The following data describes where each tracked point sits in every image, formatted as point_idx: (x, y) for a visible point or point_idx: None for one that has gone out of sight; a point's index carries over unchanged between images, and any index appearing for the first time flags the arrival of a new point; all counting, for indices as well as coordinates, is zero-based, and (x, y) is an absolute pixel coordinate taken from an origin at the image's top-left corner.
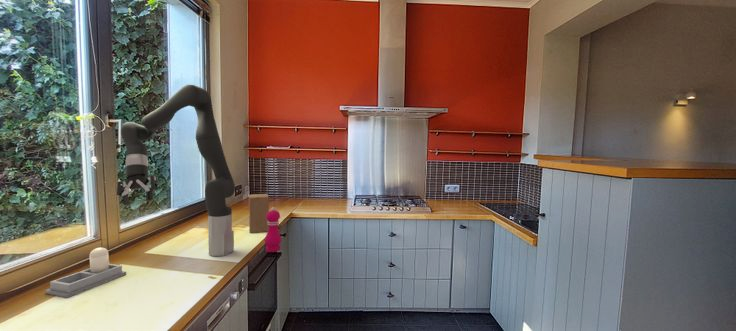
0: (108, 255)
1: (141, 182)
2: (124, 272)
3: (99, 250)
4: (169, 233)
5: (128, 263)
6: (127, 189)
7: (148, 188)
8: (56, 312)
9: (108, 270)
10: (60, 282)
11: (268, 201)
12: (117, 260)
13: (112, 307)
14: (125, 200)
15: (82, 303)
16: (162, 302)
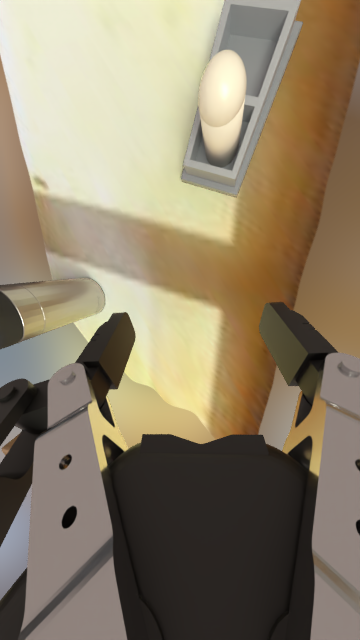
0: (202, 124)
1: (35, 568)
2: (182, 174)
3: (210, 63)
4: (236, 418)
5: (216, 245)
6: (329, 424)
7: (51, 392)
8: None
9: (193, 126)
10: (263, 3)
11: (15, 437)
12: (252, 264)
13: (102, 7)
14: (282, 319)
15: (169, 5)
16: (43, 57)
